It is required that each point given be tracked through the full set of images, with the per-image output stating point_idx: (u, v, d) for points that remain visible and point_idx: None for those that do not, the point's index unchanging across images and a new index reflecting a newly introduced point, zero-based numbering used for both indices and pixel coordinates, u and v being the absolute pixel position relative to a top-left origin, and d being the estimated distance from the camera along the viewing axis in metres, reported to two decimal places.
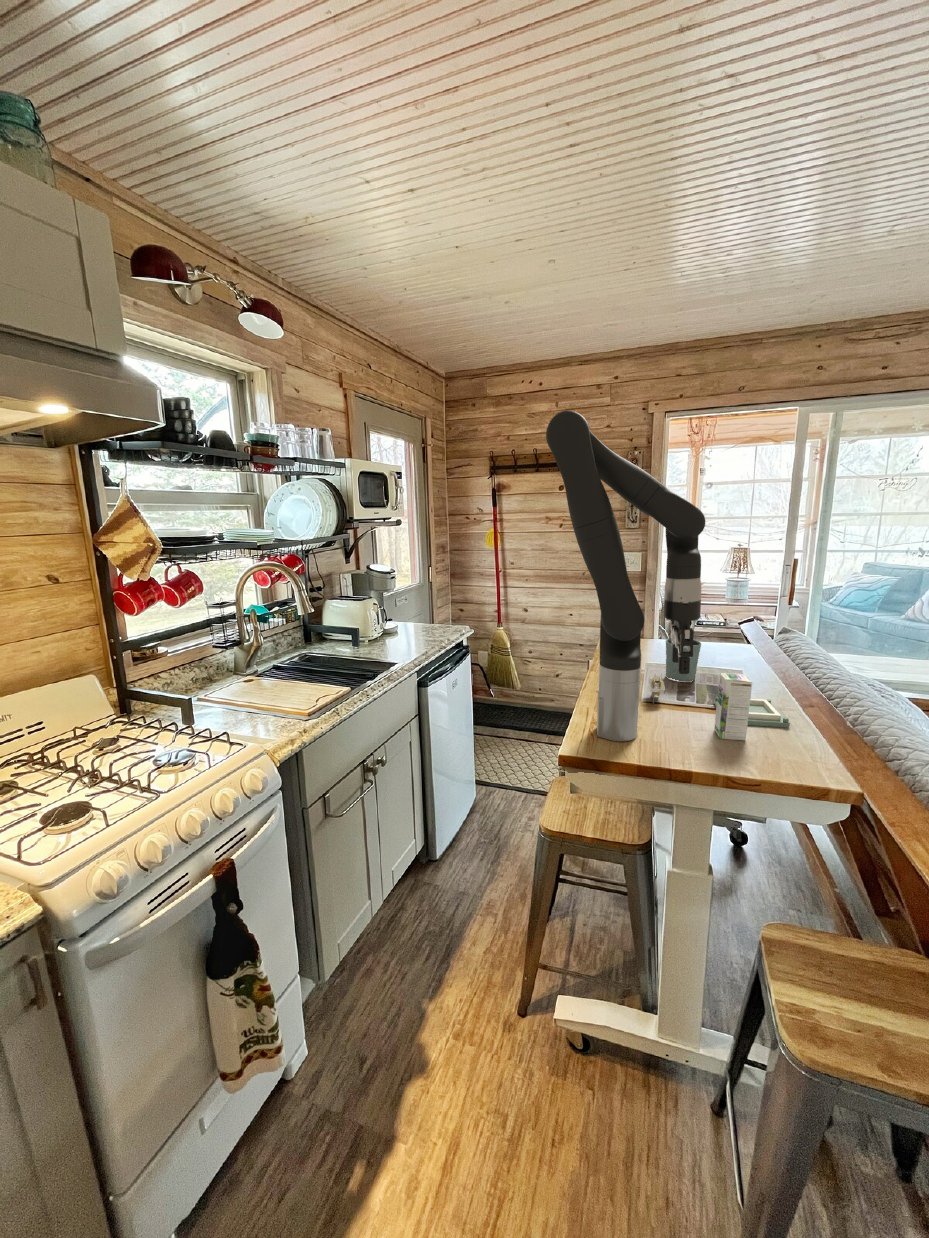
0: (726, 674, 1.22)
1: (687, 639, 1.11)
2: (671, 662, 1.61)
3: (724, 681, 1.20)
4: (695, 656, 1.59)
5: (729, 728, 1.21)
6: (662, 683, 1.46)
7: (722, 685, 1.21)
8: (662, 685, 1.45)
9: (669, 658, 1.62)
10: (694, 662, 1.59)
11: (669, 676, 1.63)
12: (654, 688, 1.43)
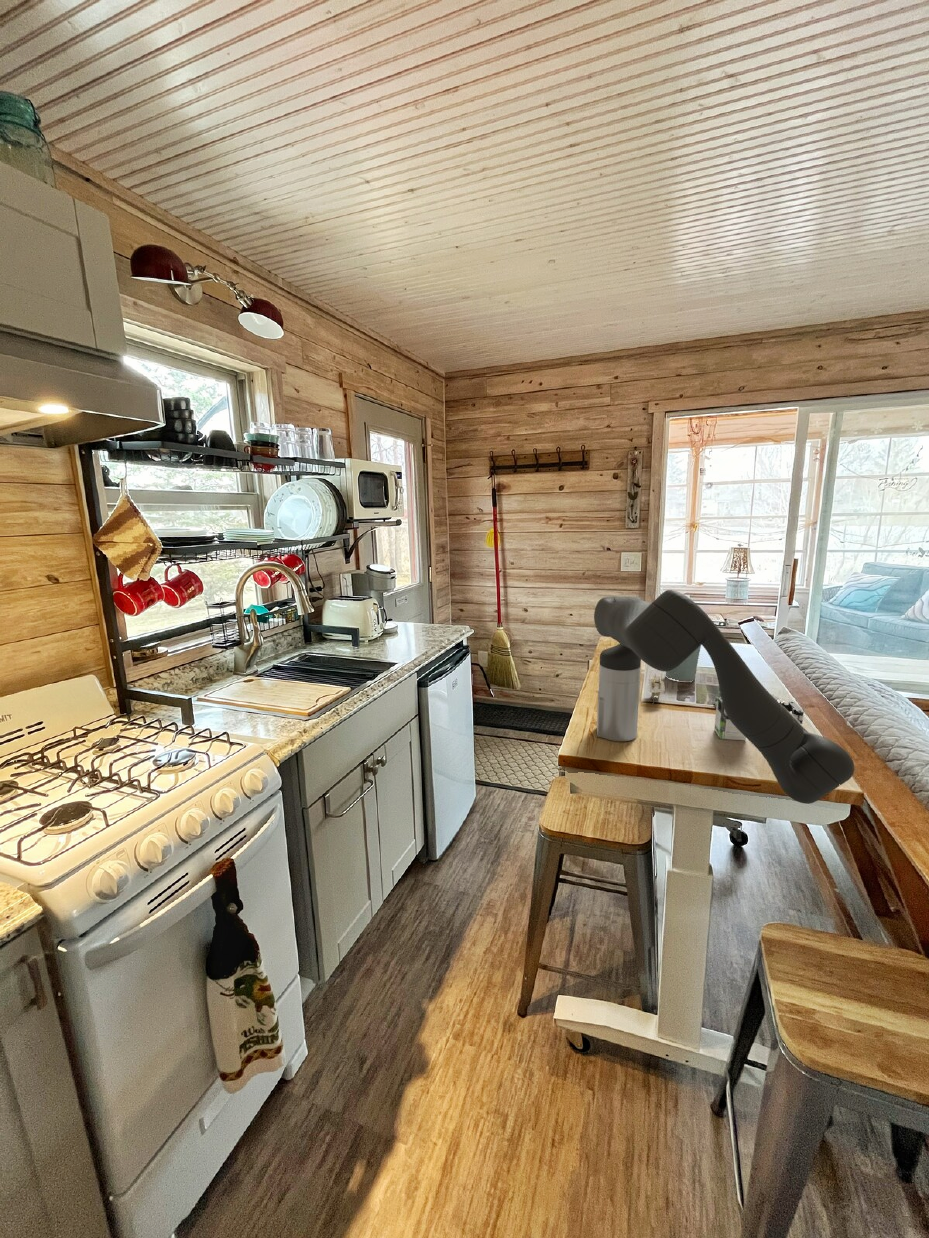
0: None
1: None
2: None
3: None
4: (695, 656, 1.59)
5: (729, 728, 1.21)
6: (662, 684, 1.46)
7: None
8: (662, 686, 1.44)
9: None
10: (694, 662, 1.59)
11: (669, 676, 1.63)
12: (654, 688, 1.42)
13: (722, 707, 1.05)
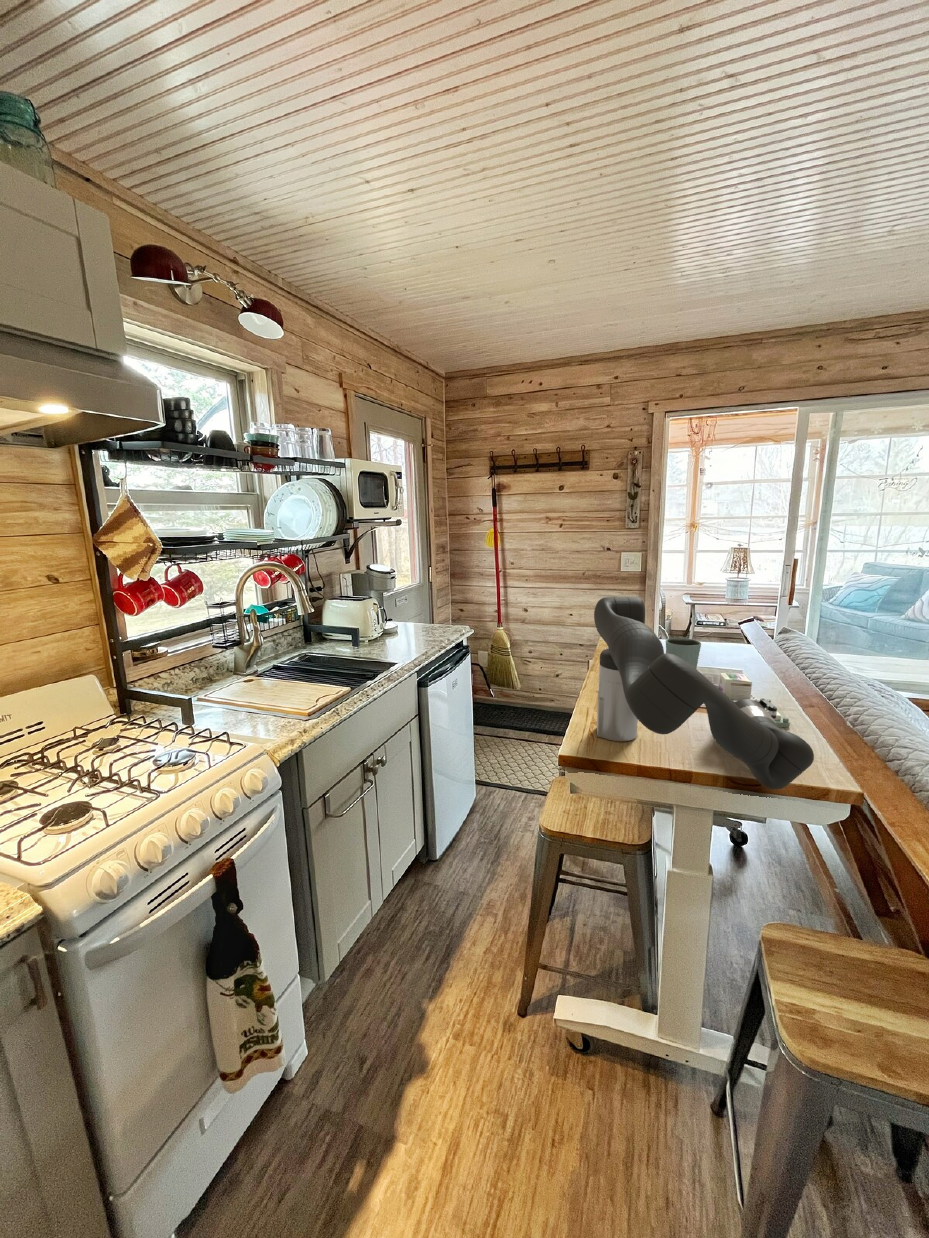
0: (726, 674, 1.22)
1: None
2: None
3: (724, 681, 1.20)
4: (695, 656, 1.59)
5: None
6: None
7: (722, 685, 1.21)
8: None
9: None
10: (694, 662, 1.59)
11: None
12: None
13: None
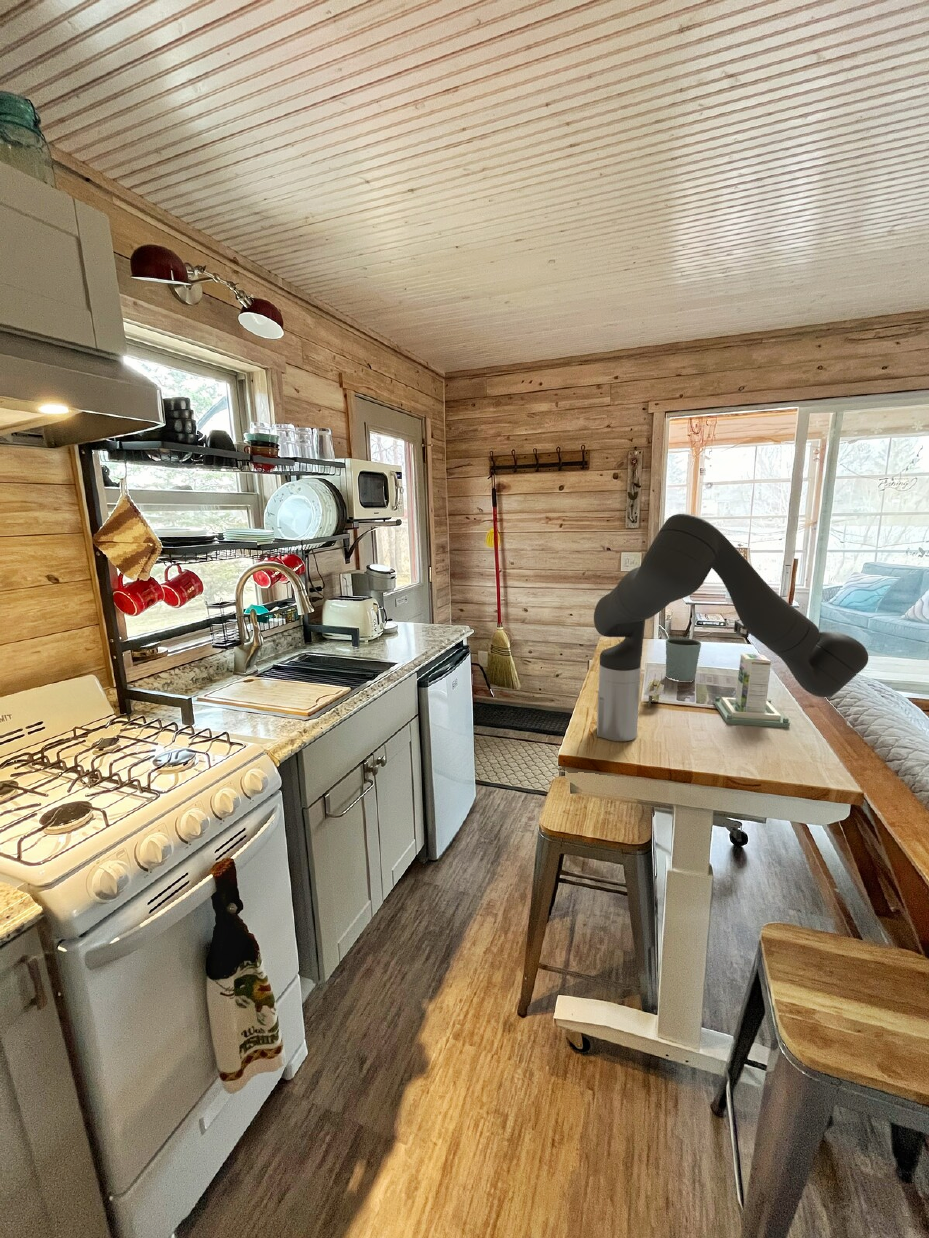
0: (746, 654, 1.34)
1: None
2: (671, 662, 1.61)
3: (745, 660, 1.31)
4: (695, 656, 1.59)
5: (749, 704, 1.32)
6: (661, 687, 1.43)
7: (743, 664, 1.32)
8: (660, 689, 1.42)
9: (669, 658, 1.62)
10: (694, 662, 1.59)
11: (669, 676, 1.63)
12: (649, 691, 1.40)
13: (738, 627, 1.09)
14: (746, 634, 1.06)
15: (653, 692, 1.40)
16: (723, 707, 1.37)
